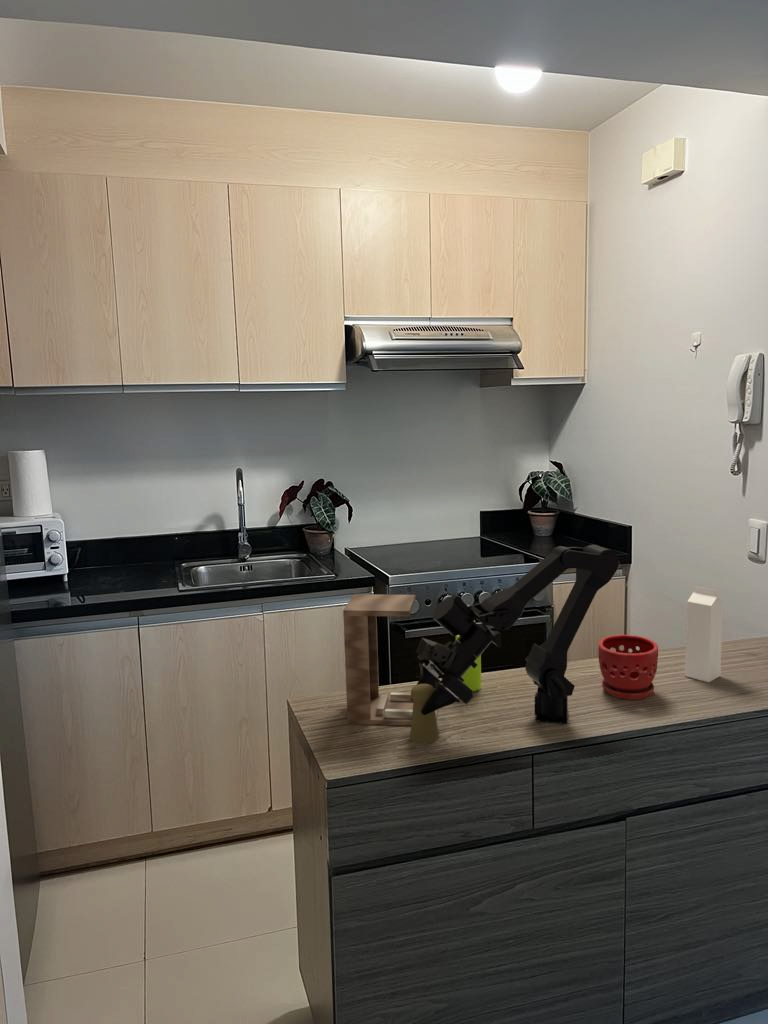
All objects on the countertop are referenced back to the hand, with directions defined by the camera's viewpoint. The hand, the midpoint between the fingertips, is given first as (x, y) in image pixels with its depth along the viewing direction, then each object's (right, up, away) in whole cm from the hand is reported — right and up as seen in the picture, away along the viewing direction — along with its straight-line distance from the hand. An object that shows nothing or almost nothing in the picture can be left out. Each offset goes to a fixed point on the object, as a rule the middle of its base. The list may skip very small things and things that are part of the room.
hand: (417, 707), depth 154 cm
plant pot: (+50, -2, +21) cm, 54 cm away
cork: (+2, -7, +1) cm, 7 cm away
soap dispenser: (+14, -2, +27) cm, 30 cm away
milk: (+71, 0, +29) cm, 76 cm away
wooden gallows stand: (-4, -5, +14) cm, 15 cm away
